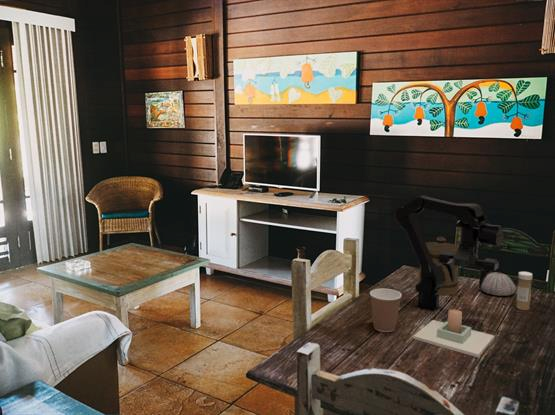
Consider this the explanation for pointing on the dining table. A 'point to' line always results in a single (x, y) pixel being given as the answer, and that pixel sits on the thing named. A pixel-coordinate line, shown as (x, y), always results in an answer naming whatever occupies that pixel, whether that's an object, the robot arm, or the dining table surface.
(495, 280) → the sea urchin shell
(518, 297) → the sprinkles bottle
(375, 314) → the coffee cup
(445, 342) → the socket board
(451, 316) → the terracotta peg
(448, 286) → the wooden container
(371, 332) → the dining table surface
